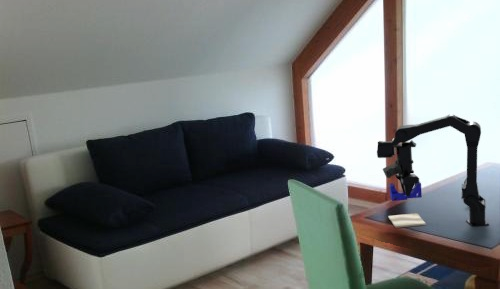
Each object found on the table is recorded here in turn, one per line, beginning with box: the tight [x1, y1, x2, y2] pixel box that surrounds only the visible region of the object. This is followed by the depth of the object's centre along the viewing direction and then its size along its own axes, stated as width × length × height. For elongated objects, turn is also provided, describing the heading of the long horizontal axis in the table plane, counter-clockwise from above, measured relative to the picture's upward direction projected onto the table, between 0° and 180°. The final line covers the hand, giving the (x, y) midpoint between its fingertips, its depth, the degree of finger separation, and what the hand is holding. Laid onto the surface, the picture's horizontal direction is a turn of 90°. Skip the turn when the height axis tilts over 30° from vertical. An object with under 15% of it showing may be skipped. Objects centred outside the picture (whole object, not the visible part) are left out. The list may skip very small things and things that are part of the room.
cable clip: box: [388, 180, 423, 202], centre depth 208 cm, size 12×4×6 cm, turn 86°
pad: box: [387, 212, 427, 229], centre depth 210 cm, size 12×12×1 cm
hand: (406, 194), depth 208 cm, fingers closed on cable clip, 4 cm apart
